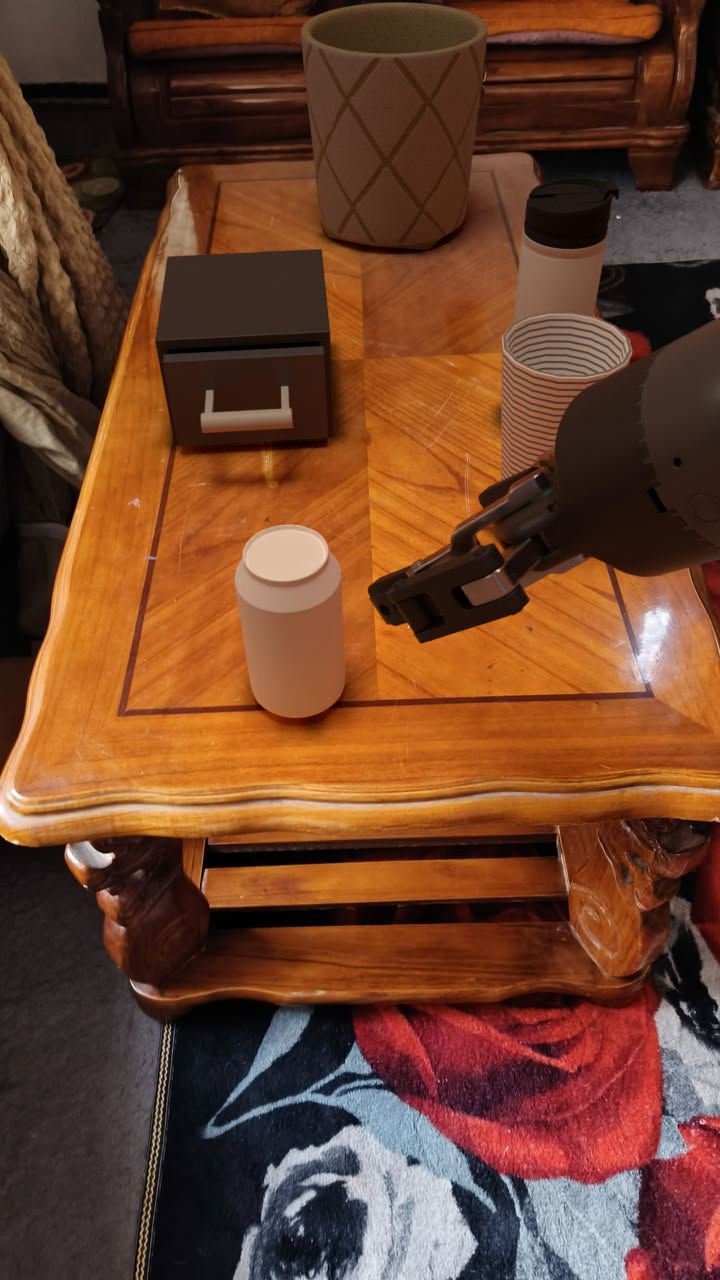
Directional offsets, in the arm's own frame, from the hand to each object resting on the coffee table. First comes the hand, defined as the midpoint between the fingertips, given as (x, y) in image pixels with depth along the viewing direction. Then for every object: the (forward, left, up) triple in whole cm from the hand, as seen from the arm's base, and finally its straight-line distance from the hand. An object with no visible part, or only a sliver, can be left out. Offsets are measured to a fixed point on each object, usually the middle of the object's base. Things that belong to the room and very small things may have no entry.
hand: (438, 555), depth 45 cm
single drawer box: (-11, +43, -18) cm, 48 cm away
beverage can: (-8, +7, -18) cm, 21 cm away
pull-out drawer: (-11, +38, -17) cm, 43 cm away
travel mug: (+14, +36, -18) cm, 43 cm away
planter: (+5, +78, -18) cm, 80 cm away
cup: (+11, +22, -18) cm, 31 cm away
